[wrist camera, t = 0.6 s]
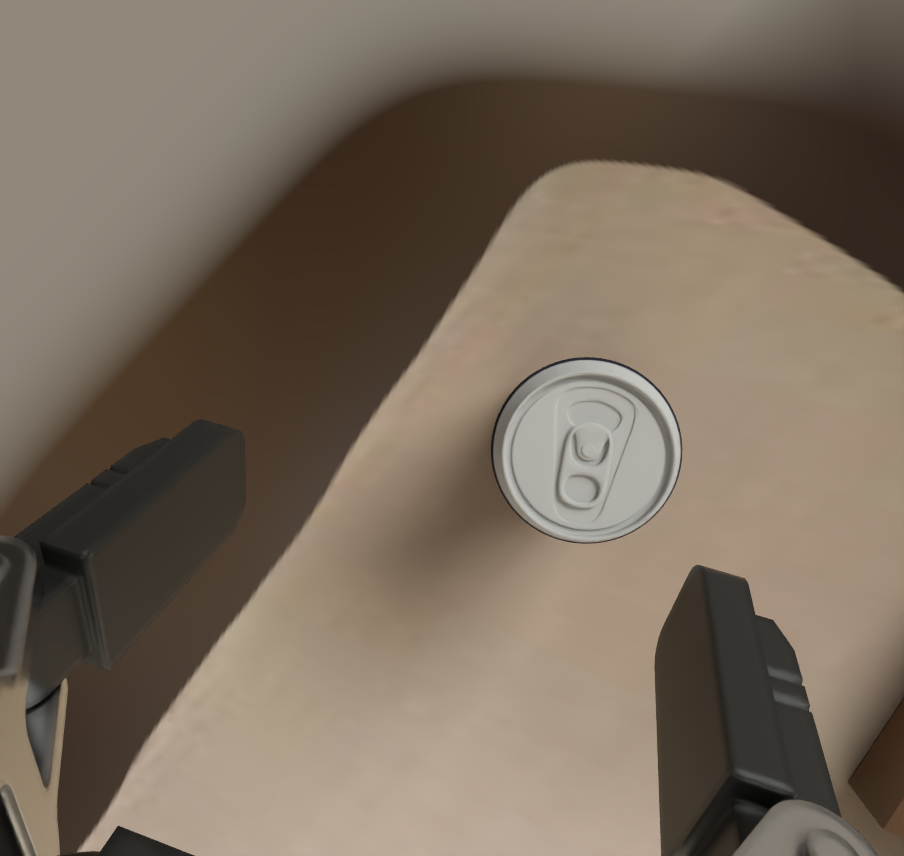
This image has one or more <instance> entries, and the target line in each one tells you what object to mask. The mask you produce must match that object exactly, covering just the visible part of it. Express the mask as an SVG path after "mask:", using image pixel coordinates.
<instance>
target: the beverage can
mask: <svg viewBox="0 0 904 856" xmlns="http://www.w3.org/2000/svg"><path fill="white" fill-rule="evenodd" d="M491 459H492V466H493V471H494V475H495V479H496V481H497V484H498V486H499V489H500V491H501V493H502V495H503V496H504V498H505V500H506V501H507V503H508V504H509V505H510V507H511V508H512V509H513V510H514V511H515V513H516V514H517V515H518V516H519V517H520V518H521V519H523V520H524V521H525V522H526V523H527V524H529V525H530V526H532V527H533V528H535V529H536V530H538V531H540V532H542V533H544V534H546V535H548V536H550V537H553V538H556V539H559V540H563V541H567V542H573V543H600V542H606V541H611V540H614V539H617V538H620V537H623V536H625V535H628V534H630V533H632V532H634V531H635V530H637V529H639V528H640V527H642V526H643V525H644V524H646V523H647V522H648V521H649V520H651V519H652V518H653V517H654V516H655V515H656V514H657V513H658V512H659V511H660V509H661V508H662V507H663V506H664V504H665V503H666V501H667V500H668V498H669V497H670V495H671V493H672V491H673V489H674V487H675V485H676V482H677V479H678V476H679V472H680V468H681V462H682V439H681V433H680V429H679V425H678V422H677V419H676V416H675V414H674V412H673V410H672V408H671V406H670V404H669V402H668V401H667V399H666V398H665V397H664V395H663V394H662V393H661V391H660V390H659V389H658V388H657V387H656V386H655V385H654V384H653V383H652V382H651V381H650V380H648V379H647V378H646V377H645V376H643V375H642V374H640V373H639V372H637V371H635V370H634V369H632V368H630V367H628V366H626V365H623V364H621V363H618V362H615V361H611V360H607V359H602V358H590V357H583V358H572V359H567V360H562V361H559V362H555V363H553V364H550V365H548V366H545V367H543V368H541V369H540V370H538V371H536V372H534V373H533V374H531V375H530V376H529V377H527V378H526V379H525V380H524V381H522V382H521V383H520V384H519V385H518V386H517V387H516V388H515V389H514V391H513V392H512V393H511V394H510V395H509V397H508V398H507V400H506V401H505V403H504V405H503V406H502V408H501V410H500V412H499V414H498V417H497V420H496V422H495V426H494V430H493V434H492V442H491Z"/></svg>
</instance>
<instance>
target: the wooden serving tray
mask: <svg viewBox="0 0 904 856" xmlns="http://www.w3.org/2000/svg"><path fill="white" fill-rule="evenodd" d="M849 785H850V786H851V787H852V789H853V790H854V791H855V793H856V794H857V795H858V797H859V798H860V799H861V801H862V802H863V803H864V805H865V806H866V807H867V809H868V810H869V811H870V813H871V814H872V815H873V817H874V818H875V819H876V821H877V822H878V823H879V825H880V826H881V827H882V828H883V829H884V830H886V831H888V832H889V833H891V834H893V835H895V836H897V837H899V838H901V839H902V840H904V699H903V701H902V702H901V704H900V705H899V707H898V708H897V710H896V711H895V713H894V715H893V716H892V718H891V719H890V721H889V722H888V724H887V725H886V727H885V728H884V730H883V731H882V733H881V734H880V736H879V737H878V739H877V740H876V742H875V743H874V745H873V746H872V748H871V749H870V751H869V752H868V754H867V755H866V757H865V759H864V760H863V762H862V763H861V765H860V766H859V768H858V769H857V771H856V772H855V774H854V775H853V777H852V778H851V780H850V781H849Z"/></svg>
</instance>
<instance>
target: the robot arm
mask: <svg viewBox="0 0 904 856" xmlns="http://www.w3.org/2000/svg"><path fill="white" fill-rule="evenodd" d="M245 478H246V477H245V438H244V435H243V433H242V432H241V431H240V430H236V429H233V428H229V427H226V426H223V425H219V424H215V423H212V422H209V421H206V420H197V421H195V422H193V423H192V424H190V425H189V426H188V427H187V428H185V429H184V430H183V431H181V432H180V433H179V434H177V435H176V436H175V437H173V438H172V439H171V440H170V439H167V438H162V439H159V440H156V441H154V442H151V443H149V444H146V445H143V446H141V447H138V448H136V449H133V450H132V451H130V452H129V453H128V454H126V455H125V456H124V457H123V458H121V459H120V460H118V461H117V462H115V463H114V464H113V465H111V468H110V470H107V469H106V470H105V471H103V472H102V473H100V474H99V475H98V476H96V477H95V478H94V479H93V480H92V482H91V484H88V483H87V484H86V485H84V486H83V487H82V488H80V489H79V490H77V491H76V492H75V493H73V494H72V495H71V496H69V497H68V498H67V499H65V500H64V501H62V502H61V503H60V504H58V505H57V506H56V507H54V508H53V509H52V510H50V511H49V512H47V513H46V514H45V515H43V516H42V517H41V518H39V519H38V520H37V521H35V522H34V523H32V524H31V525H30V526H28V527H27V528H26V529H24V530H23V531H22V532H20V533H19V534H18V535H16V536H15V537H8V536H0V856H194V855H191V854H189V853H186V852H184V851H181V850H179V849H176V848H174V847H171V846H168V845H166V844H163V843H161V842H158V841H156V840H153V839H151V838H148V837H146V836H143V835H141V834H138V833H135V832H133V831H130V830H128V829H125V828H123V827H120V826H118V827H117V828H116V829H115V831H114V832H113V834H112V835H111V837H110V838H109V840H108V841H107V842H106V844H105V845H104V847H103V848H102V850H101V851H100V852H97V851H91V852H78V853H68V854H63V855H59V834H58V824H57V794H58V784H59V783H58V782H59V773H60V764H61V753H62V743H63V732H64V722H65V712H66V701H67V692H68V683H67V679H66V677H67V676H68V675H69V674H70V673H71V672H72V671H73V670H74V669H75V668H76V667H77V665H78V664H79V663H80V662H84V663H87V664H90V665H93V666H95V667H98V668H101V669H104V670H107V671H109V670H110V669H111V668H112V667H113V666H114V664H115V663H116V662H117V661H118V660H119V658H121V657H122V655H123V654H124V653H125V652H126V651H127V650H128V649H129V648H130V647H131V645H132V644H133V643H134V642H135V641H136V640H137V639H138V638H139V636H140V635H141V634H142V633H143V632H144V631H145V629H146V628H147V627H148V626H149V625H150V624H151V623H152V622H153V621H154V620H155V618H156V617H157V616H158V615H159V614H160V613H161V612H162V611H163V610H164V608H165V607H166V606H167V605H168V604H169V603H170V602H171V601H172V599H173V598H174V597H175V596H176V595H177V594H178V592H179V591H180V590H181V589H182V588H183V587H184V586H185V585H186V584H187V583H188V581H189V580H190V579H191V578H192V577H193V576H194V575H195V574H196V572H197V571H198V570H199V569H200V568H201V567H202V566H203V565H204V563H205V562H206V561H207V560H208V559H209V558H210V557H211V556H212V554H213V553H214V552H215V551H216V550H217V549H218V548H219V547H220V546H221V544H222V543H223V542H224V541H225V540H226V539H227V538H228V536H229V535H230V534H231V533H232V532H233V531H234V530H235V528H236V526H237V525H238V523H239V521H240V519H241V516H242V514H243V511H244V507H245V501H246V481H245V480H246V479H245ZM802 681H803V679H802V676H801V672H800V669H799V665H798V662H797V658H796V655H795V651H794V649H793V648H792V646H791V645H790V643H789V642H788V641H787V639H786V638H785V636H784V635H783V633H782V632H781V631H780V629H779V628H778V626H777V625H776V623H775V622H774V621H773V620H771V619H768V618H764V617H761V616H758V615H755V611H754V607H753V602H752V598H751V594H750V589H749V585H748V582H747V581H746V579H745V578H742V577H739V576H735V575H732V574H728V573H725V572H721V571H718V570H714V569H711V568H708V567H704V566H701V565H696V566H694V567H693V568H692V570H691V571H690V573H689V575H688V577H687V579H686V581H685V583H684V585H683V587H682V589H681V591H680V593H679V595H678V597H677V599H676V601H675V603H674V605H673V607H672V609H671V611H670V613H669V615H668V617H667V619H666V621H665V623H664V625H663V628H662V630H661V633H660V636H659V639H658V643H657V648H656V654H655V692H656V720H657V748H658V776H659V804H660V833H661V856H878V854H877V853H876V851H875V850H874V849H873V847H872V846H871V845H870V844H869V843H868V842H867V840H866V839H865V838H864V837H863V836H862V835H861V834H860V833H859V832H858V831H857V830H856V829H855V828H854V827H852V826H851V825H850V824H849V823H847V822H846V821H845V820H844V819H842V816H841V814H840V810H839V807H838V803H837V800H836V796H835V793H834V789H833V786H832V782H831V779H830V775H829V772H828V768H827V764H826V761H825V757H824V754H823V750H822V747H821V743H820V740H819V736H818V733H817V729H816V725H815V722H814V718H813V715H812V713H811V712H809V707H810V704H809V701H808V697H807V694H806V690H805V687H804V686H802Z"/></svg>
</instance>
